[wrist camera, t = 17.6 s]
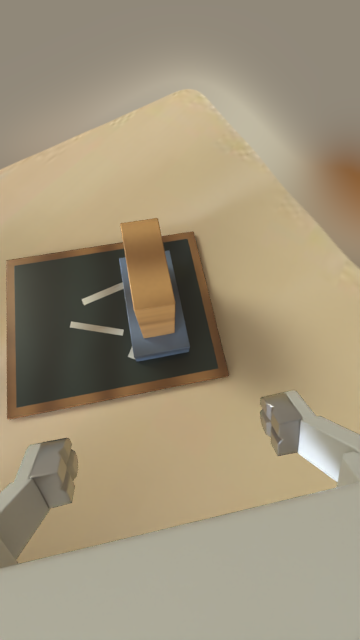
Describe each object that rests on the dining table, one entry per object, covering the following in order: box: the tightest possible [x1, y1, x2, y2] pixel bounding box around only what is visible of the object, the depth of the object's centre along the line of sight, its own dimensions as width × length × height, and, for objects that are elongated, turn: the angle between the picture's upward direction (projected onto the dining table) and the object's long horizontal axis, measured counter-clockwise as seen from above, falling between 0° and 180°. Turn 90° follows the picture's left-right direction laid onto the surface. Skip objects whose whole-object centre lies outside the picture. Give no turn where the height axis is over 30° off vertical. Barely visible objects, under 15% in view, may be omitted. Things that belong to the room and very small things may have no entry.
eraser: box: [119, 218, 190, 362], centre depth 24 cm, size 10×5×9 cm, turn 11°
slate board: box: [6, 232, 229, 419], centre depth 29 cm, size 20×16×1 cm
